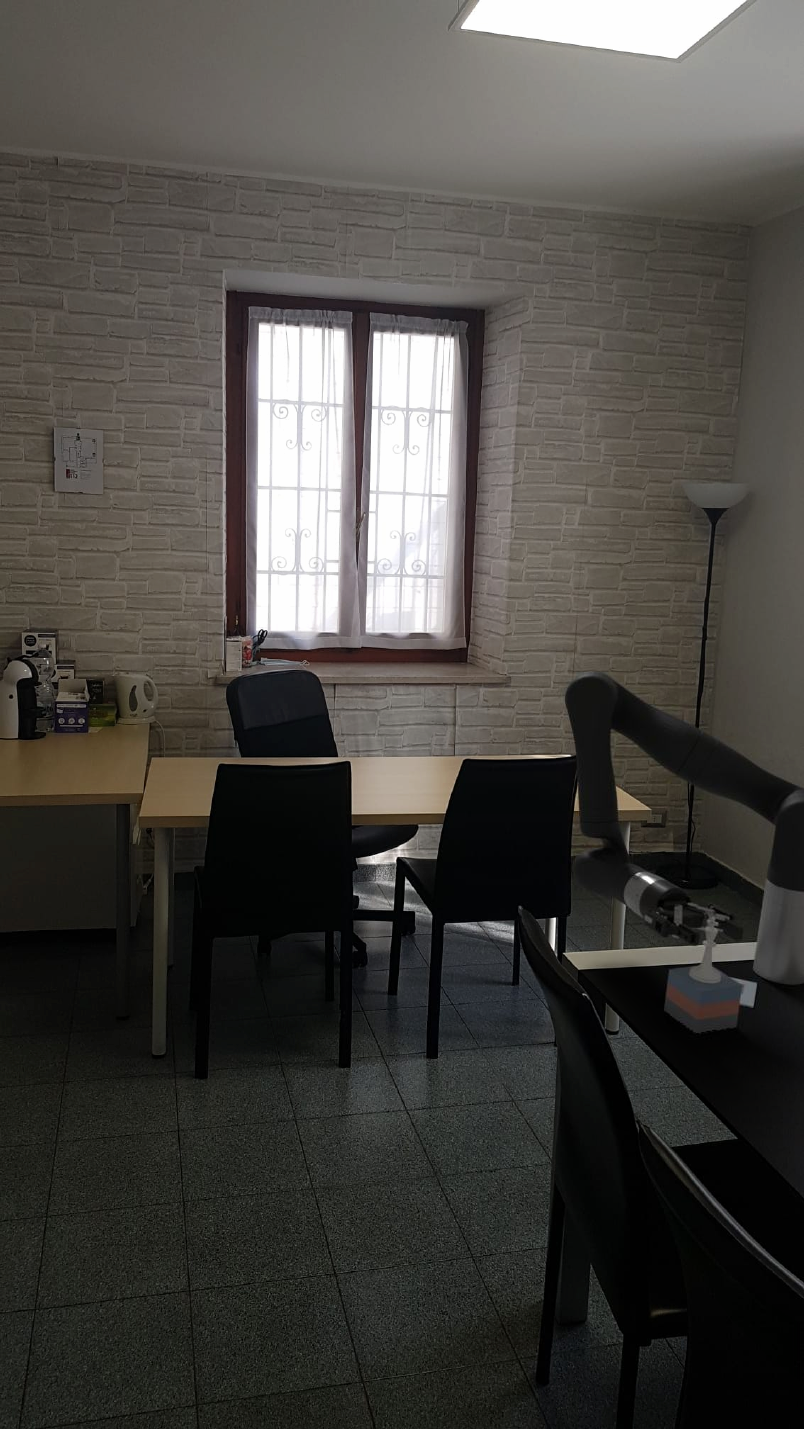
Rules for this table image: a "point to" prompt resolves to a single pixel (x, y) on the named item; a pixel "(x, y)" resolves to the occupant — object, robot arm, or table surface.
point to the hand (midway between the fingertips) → (719, 937)
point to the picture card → (747, 992)
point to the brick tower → (702, 1001)
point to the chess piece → (707, 958)
